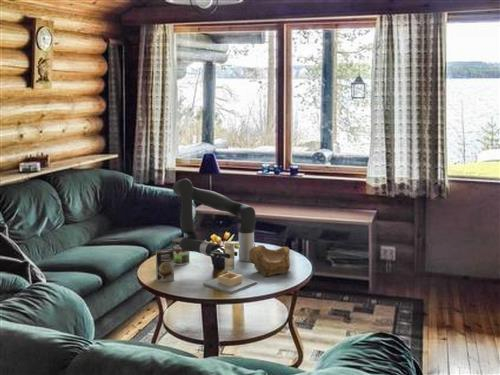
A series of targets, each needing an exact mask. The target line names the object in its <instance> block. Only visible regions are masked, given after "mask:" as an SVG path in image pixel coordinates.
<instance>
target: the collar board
mask: <svg viewBox="0 0 500 375" xmlns="http://www.w3.org/2000/svg"><path fill="white" fill-rule="evenodd" d="M257 284H258V280H254V279H250V278H248V277H244V276H243V275H242V274H239V273H235V272H232V271H228V272H226V273H223V274H221V275H218V276H217V277H216V278H213V279H211V280H208V281H207V280H206V281H205V282H203V284H202V285H203V286H204V287H208V288H211V289H214V290H218V291H221V292H224V293H227V294H231V295H233V294H235V293H238V292H240V291H242V290H244V289H247V288H249V287H252V286H254V285H257Z"/></svg>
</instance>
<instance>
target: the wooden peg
mask: <svg viewBox="0 0 500 375" xmlns="http://www.w3.org/2000/svg"><path fill="white" fill-rule="evenodd" d="M224 248H225V253H227V254H230V258H225V257H224V270H225V271H228V272H232V271H234V270H235V256H234V251H235V242H234V241H225V242H224Z"/></svg>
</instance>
